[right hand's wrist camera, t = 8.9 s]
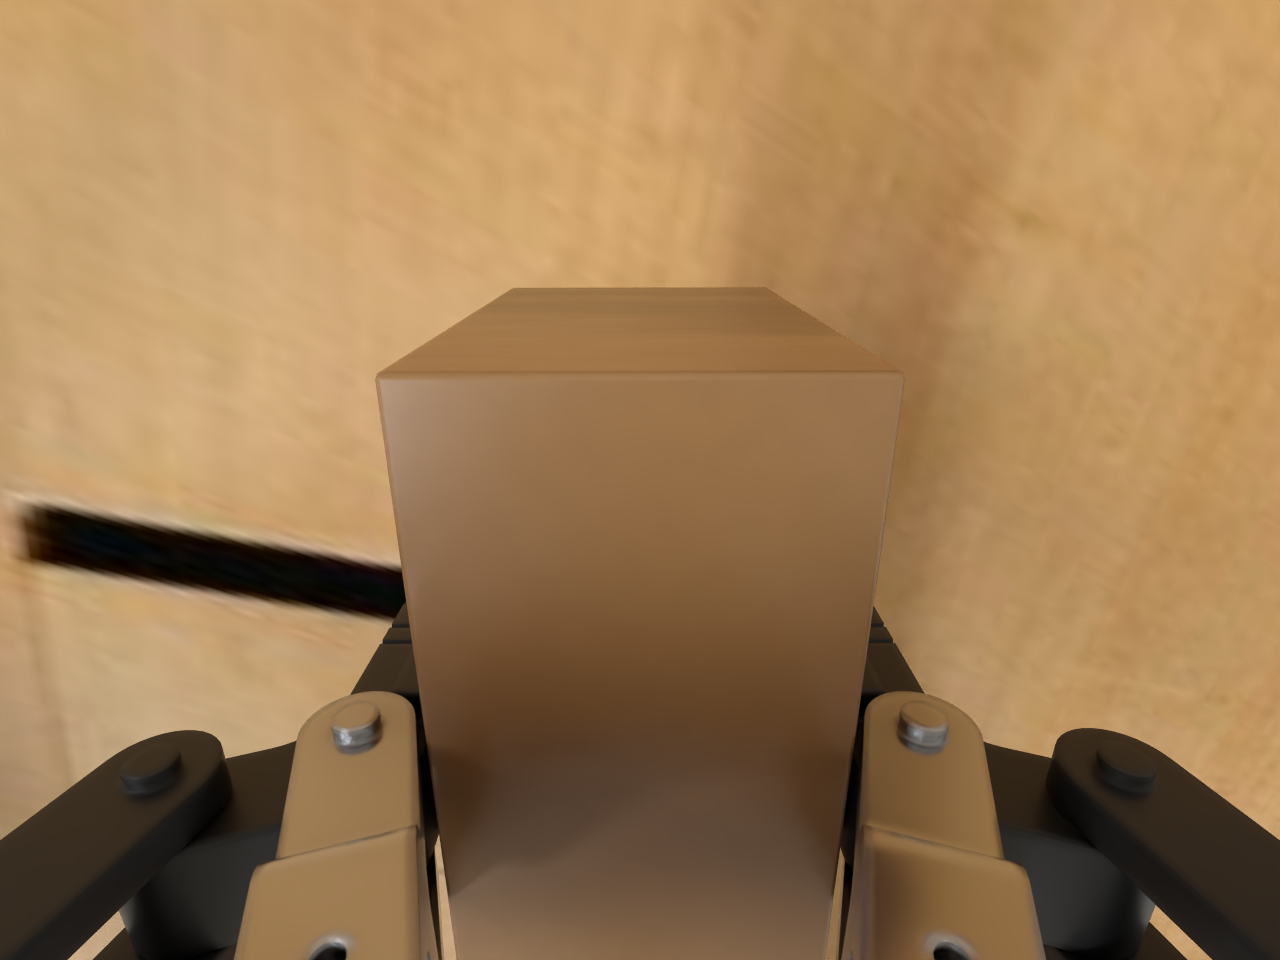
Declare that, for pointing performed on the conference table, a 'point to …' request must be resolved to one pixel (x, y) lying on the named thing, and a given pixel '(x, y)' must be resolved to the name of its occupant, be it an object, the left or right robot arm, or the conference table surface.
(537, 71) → the conference table surface
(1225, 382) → the conference table surface
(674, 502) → the bar
